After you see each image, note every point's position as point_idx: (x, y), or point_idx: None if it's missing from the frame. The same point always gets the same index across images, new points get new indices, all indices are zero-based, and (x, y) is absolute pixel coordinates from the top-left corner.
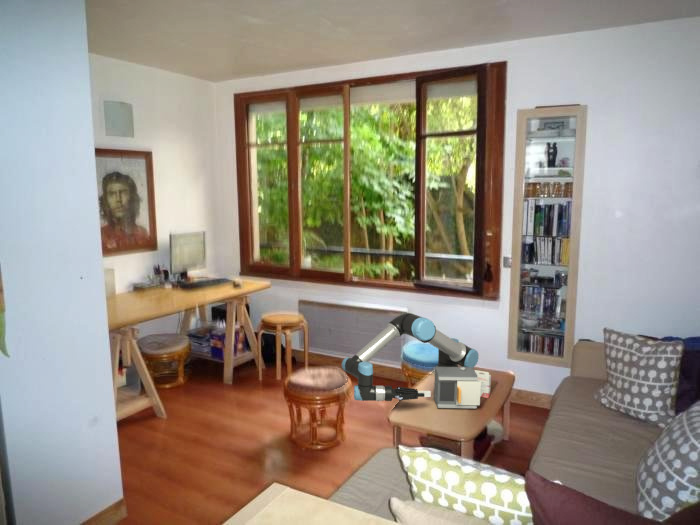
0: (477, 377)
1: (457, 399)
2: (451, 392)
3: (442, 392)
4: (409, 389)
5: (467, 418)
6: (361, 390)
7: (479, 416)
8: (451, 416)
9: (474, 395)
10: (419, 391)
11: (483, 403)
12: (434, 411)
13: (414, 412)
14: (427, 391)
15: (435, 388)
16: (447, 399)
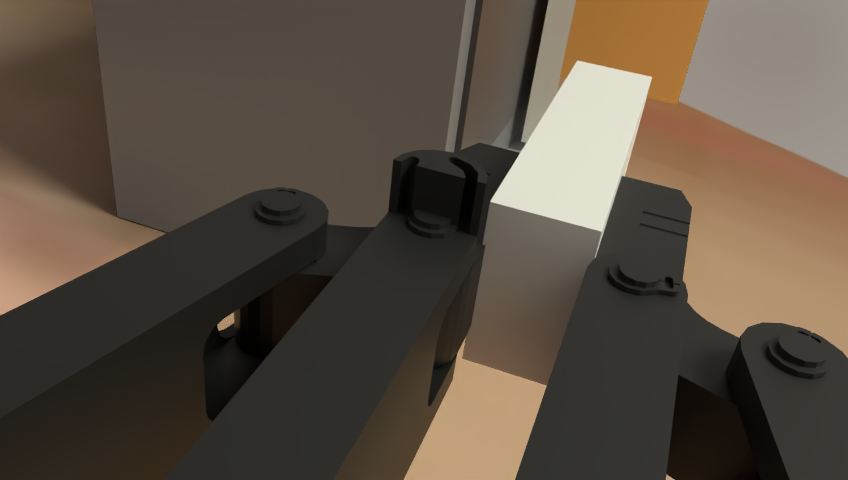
0: None
1: (616, 68)
2: (525, 3)
3: (487, 42)
4: (153, 343)
5: (776, 225)
6: None
7: (723, 153)
8: (724, 307)
9: None
10: (573, 194)
11: None
12: (528, 394)
13: None
14: (607, 95)
15: (204, 45)
16: (493, 126)
